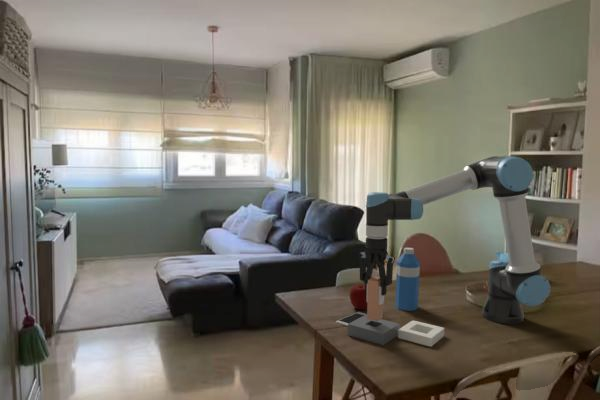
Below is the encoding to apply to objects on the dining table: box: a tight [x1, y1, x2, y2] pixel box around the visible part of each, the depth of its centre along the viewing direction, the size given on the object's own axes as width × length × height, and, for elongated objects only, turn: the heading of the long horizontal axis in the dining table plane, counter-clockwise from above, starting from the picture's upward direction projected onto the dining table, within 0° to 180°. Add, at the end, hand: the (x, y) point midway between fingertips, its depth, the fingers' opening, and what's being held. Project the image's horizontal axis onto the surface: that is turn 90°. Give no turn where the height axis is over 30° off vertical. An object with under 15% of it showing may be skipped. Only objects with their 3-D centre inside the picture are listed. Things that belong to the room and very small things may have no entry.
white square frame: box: [397, 320, 445, 348], centre depth 165 cm, size 12×12×3 cm
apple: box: [349, 283, 367, 311], centre depth 194 cm, size 10×10×10 cm
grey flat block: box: [347, 315, 401, 346], centre depth 166 cm, size 14×12×4 cm
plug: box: [366, 276, 384, 321], centre depth 165 cm, size 4×4×15 cm
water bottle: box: [394, 247, 421, 312], centre depth 196 cm, size 9×9×25 cm
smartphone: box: [335, 311, 367, 327], centre depth 181 cm, size 7×15×1 cm, turn 138°
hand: (375, 302), depth 165 cm, fingers closed on plug, 4 cm apart
